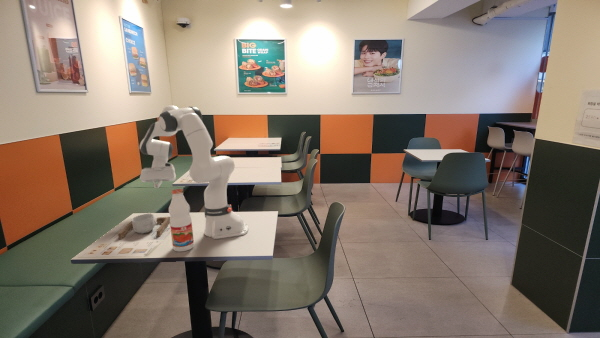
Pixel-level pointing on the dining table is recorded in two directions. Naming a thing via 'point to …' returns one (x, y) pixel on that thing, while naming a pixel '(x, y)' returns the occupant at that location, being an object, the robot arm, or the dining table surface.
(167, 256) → the dining table surface
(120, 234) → the wooden l-brackets
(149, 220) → the teacup
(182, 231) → the fruit juice
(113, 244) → the dining table surface
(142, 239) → the dining table surface
